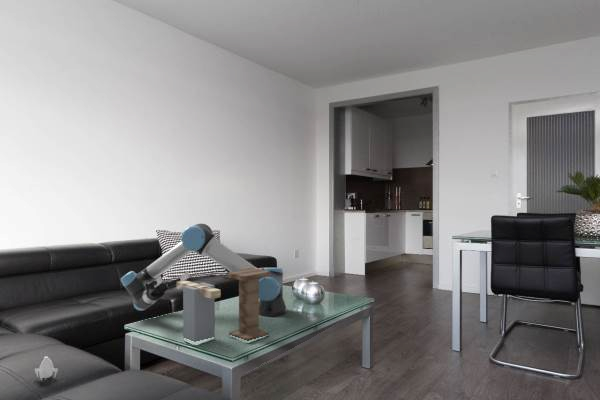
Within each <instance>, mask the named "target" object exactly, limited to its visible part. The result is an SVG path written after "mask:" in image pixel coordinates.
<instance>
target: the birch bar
mask: <svg viewBox="0 0 600 400" xmlns="http://www.w3.org/2000/svg"><path fill="white" fill-rule="evenodd" d="M184 286H191V287H194V288H198V289H199V295H200V296H203V297H207V298H210V299H215V300H216V299H218V298H221V295H222V293H221V289H219V288H216V287H215V288H212V287H208V286H204V285H201V284H199V283H196V282H192V281H188V280H186V281H185V280H183V281H178V282H176V288H175V289H177V290H181V291H183V287H184Z"/></svg>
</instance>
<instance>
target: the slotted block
mask: <svg viewBox="0 0 600 400" xmlns="http://www.w3.org/2000/svg"><path fill="white" fill-rule="evenodd" d="M198 284H201V285H204V286H208V287H212V288H216V286H215V285H214V284H210V283H206V282H200V283H198ZM182 291H183V293H182V296H183V298H182V299H183V300H182V302H183V303H182V306H183V307H182V309H183V310H182V311H183V315H182V316H183V318H182V319H183V320H182V321H183V322H182V323H183V326H182V327H183V328H182V329H183V331H182V333H183V338H186V339H189V340H191V341H194V342H196V341H200V340H204V339H208V338H212V337H215V338H216V333H215V332H216V331H215V329H216V327H215V326H216V325H215V324H216V322H215V321H216V317H215V315H216V307H215V305H216V304H215V303H216V301H215V300H216V298H215V299H210V298H207V297H203V296H200V295H199V289H198V288H194V287H191V286H184V287H183V290H182Z"/></svg>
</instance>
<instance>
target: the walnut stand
mask: <svg viewBox="0 0 600 400" xmlns="http://www.w3.org/2000/svg"><path fill="white" fill-rule="evenodd" d="M269 276H270V271H265V270H260V269H255V268H249V269H243V270H238V271H233V272H230V271H228V272H226V278H230V279H234V280H238V329H234V330H232V331H230V332H228V336H229V335H232V336H235V337H238V338H241V339H244V340H247V341H249V340H252V339H256V338H259V337H263V336H266V335H269V336H270V332H269V331H267V330H264V329H261V328H260V315H259V300H260V299H259V278H264V277H269Z"/></svg>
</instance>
